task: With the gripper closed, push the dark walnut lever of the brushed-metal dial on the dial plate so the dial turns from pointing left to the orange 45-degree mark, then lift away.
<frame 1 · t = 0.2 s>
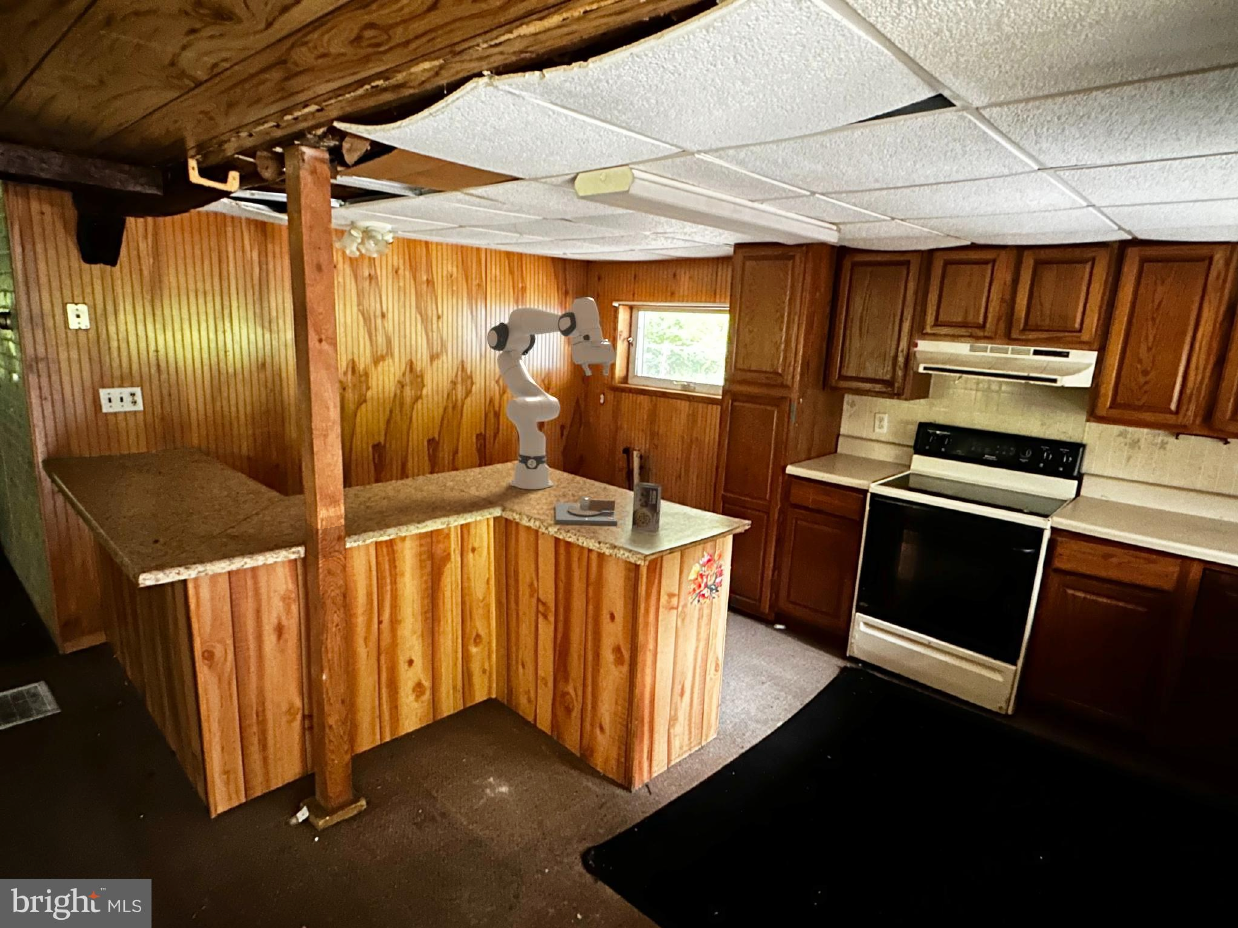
hand: (597, 375, 248), 52 cm above the worktop, tool tilted 20°, fingers open, 8 cm apart
dial plate: (584, 515, 246), on the worktop
coffee box: (645, 528, 235), on the worktop
dial: (591, 504, 246), point 4 cm above the worktop, hinge at 90.0°
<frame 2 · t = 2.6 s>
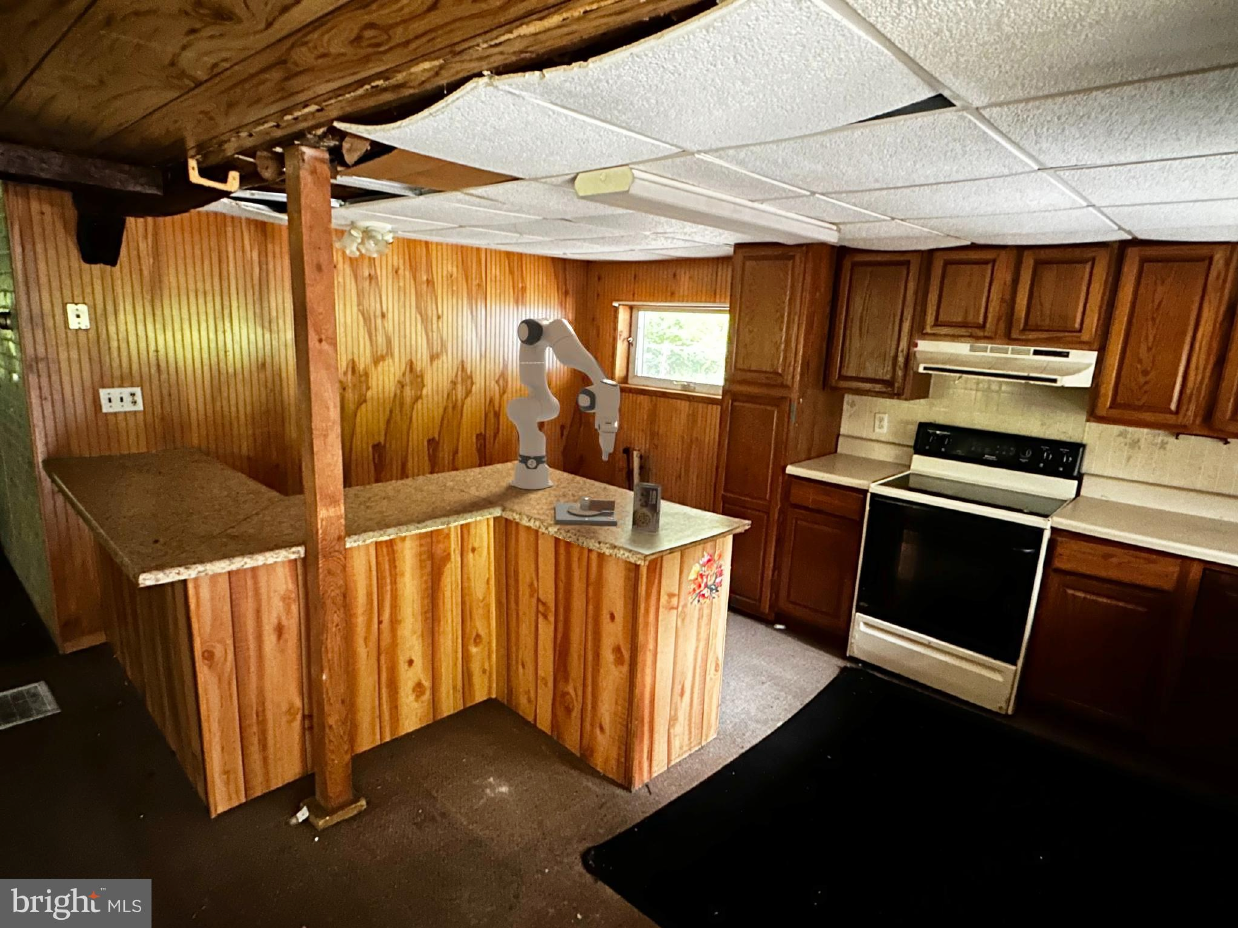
hand: (605, 459, 249), 20 cm above the worktop, tool pointing down, fingers closed
nothing on the worktop moved.
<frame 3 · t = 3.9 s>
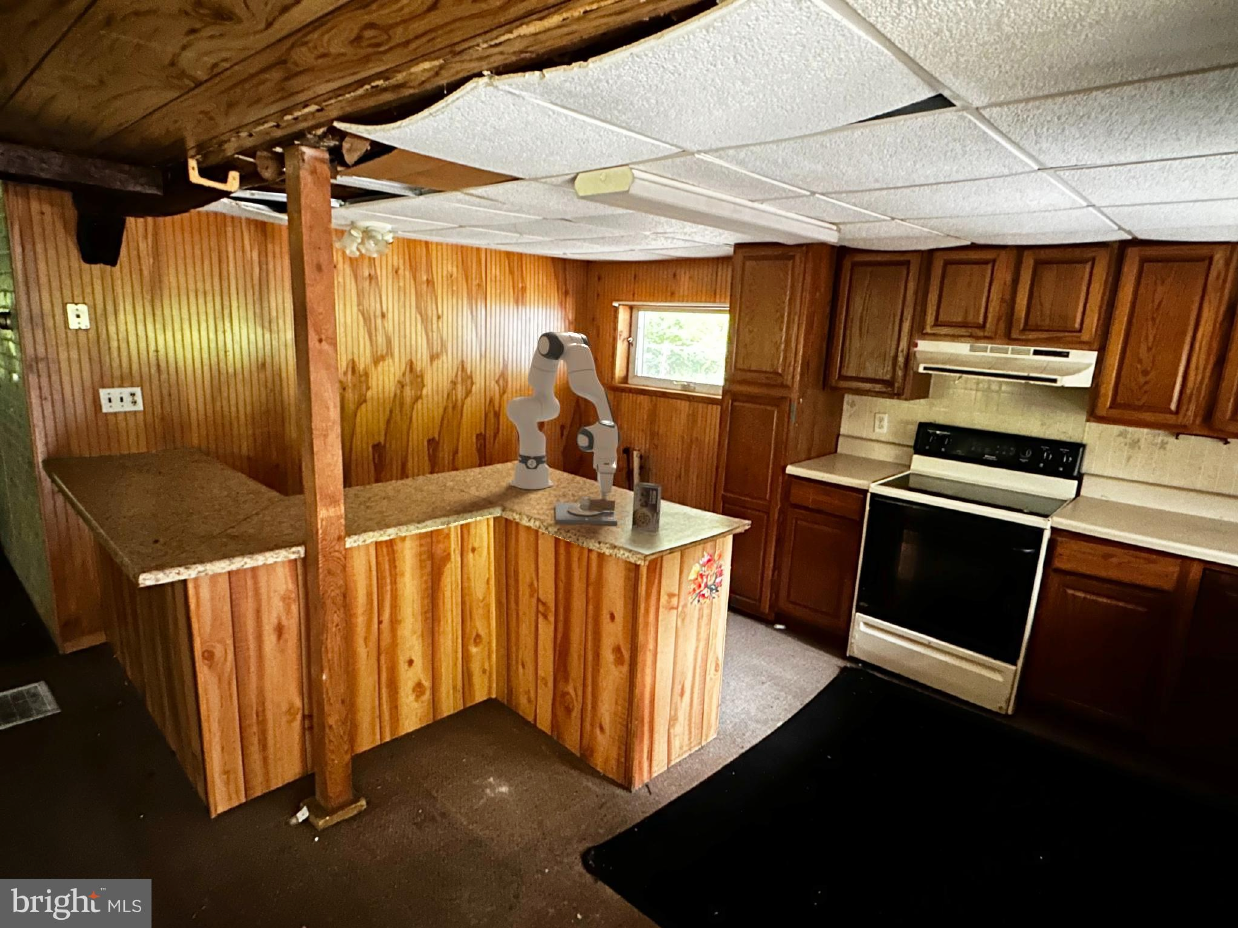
hand: (603, 498, 252), 5 cm above the worktop, tool pointing down, fingers closed
nothing on the worktop moved.
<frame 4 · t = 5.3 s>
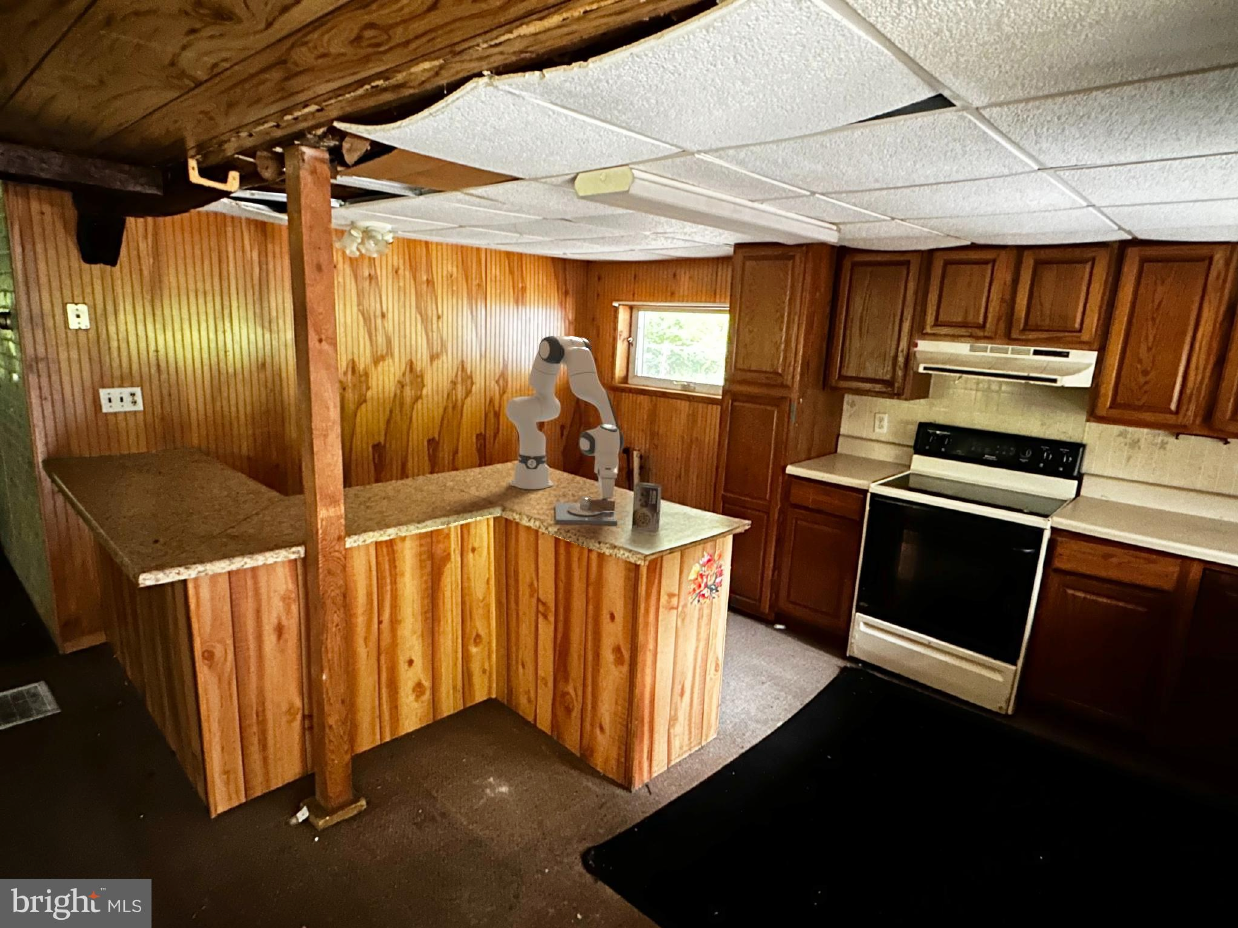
hand: (604, 503, 248), 4 cm above the worktop, tool pointing down, fingers closed, pressing on dial
dial: (591, 504, 246), point 4 cm above the worktop, hinge at 87.4°, touching gripper
everything else where it was.
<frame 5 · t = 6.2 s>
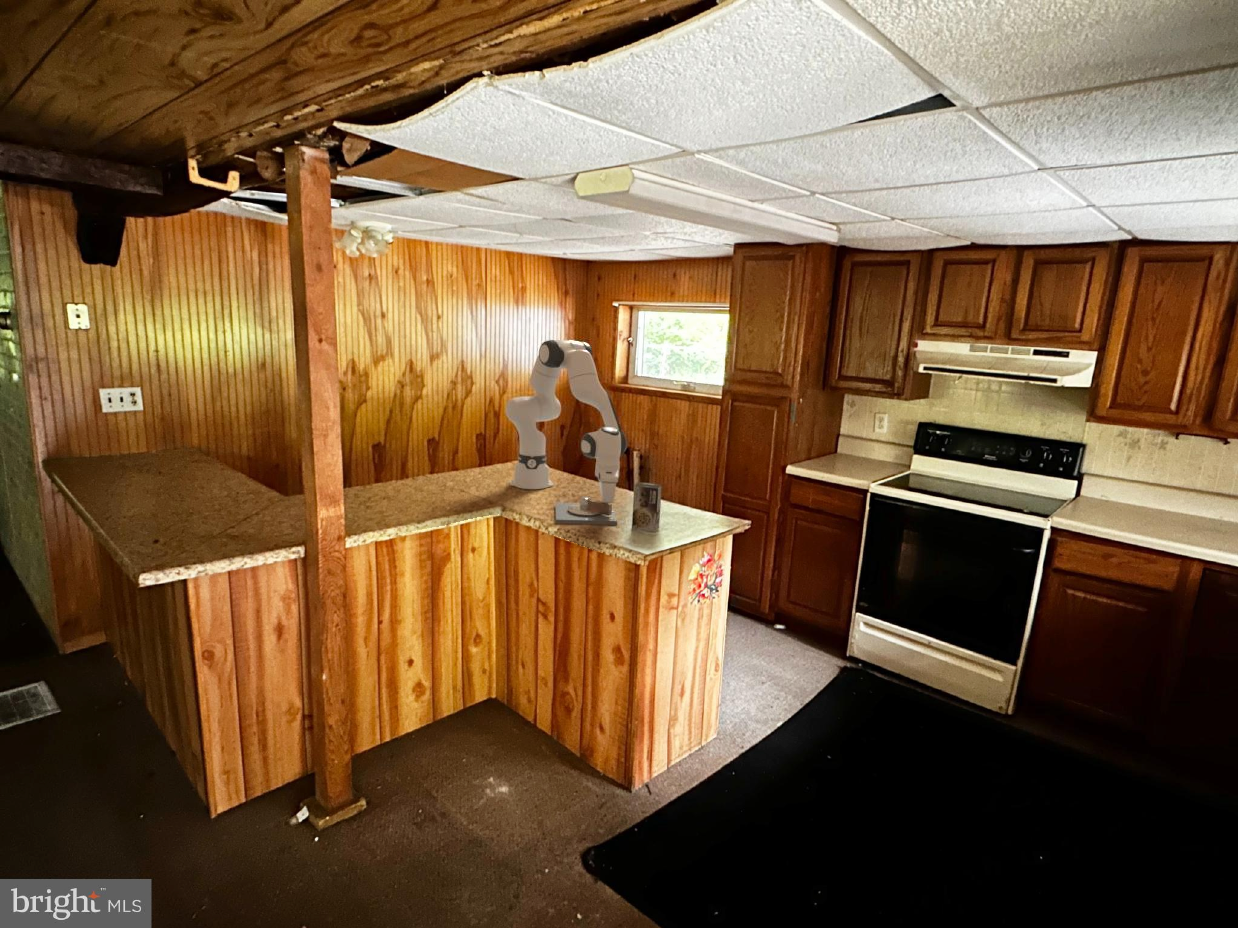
hand: (604, 507, 244), 4 cm above the worktop, tool pointing down, fingers closed, pressing on dial
dial: (590, 505, 244), point 4 cm above the worktop, hinge at 53.1°, touching gripper
everything else where it was.
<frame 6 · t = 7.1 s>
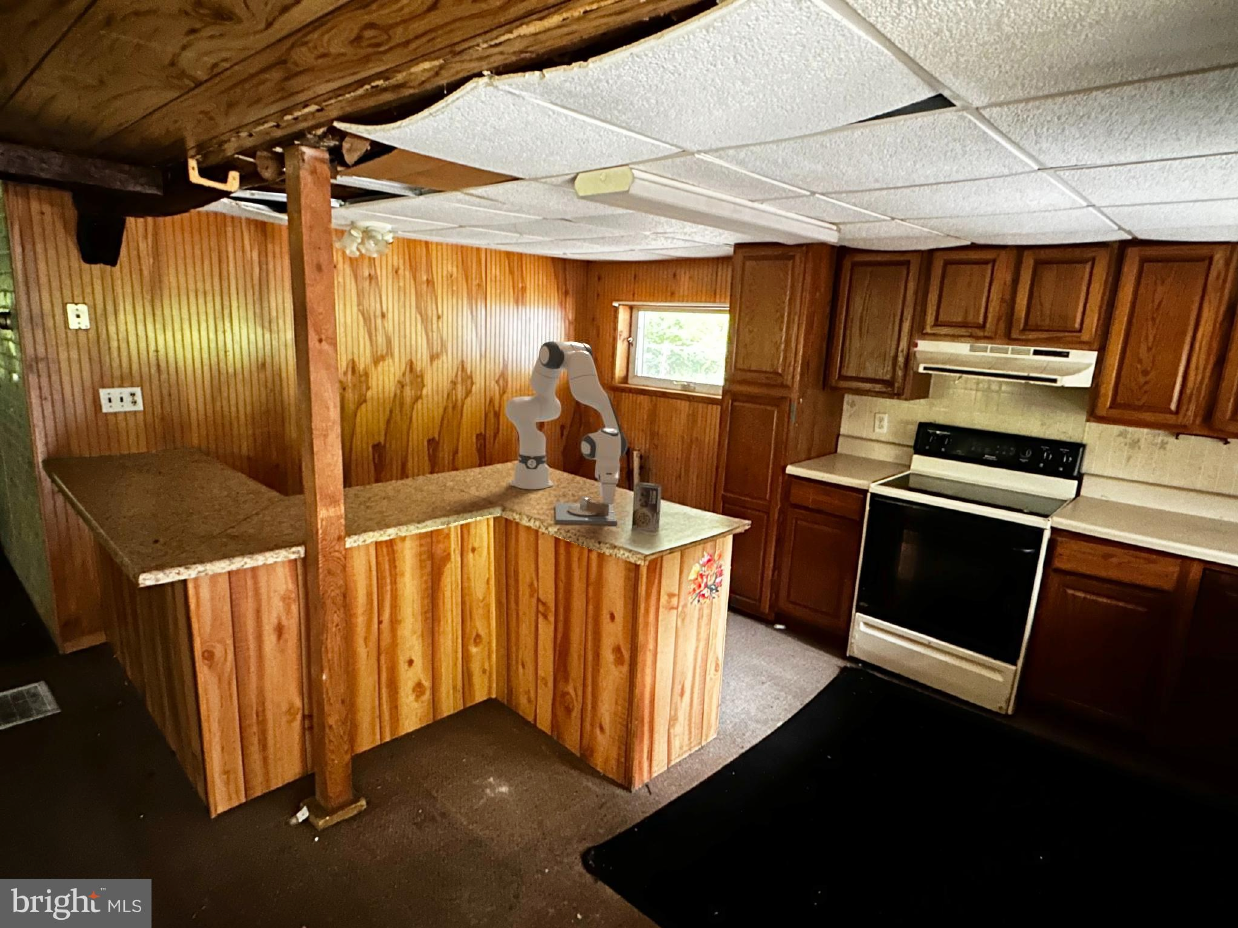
hand: (605, 508, 243), 4 cm above the worktop, tool pointing down, fingers closed
dial: (589, 505, 244), point 4 cm above the worktop, hinge at 42.2°, touching gripper
everything else where it was.
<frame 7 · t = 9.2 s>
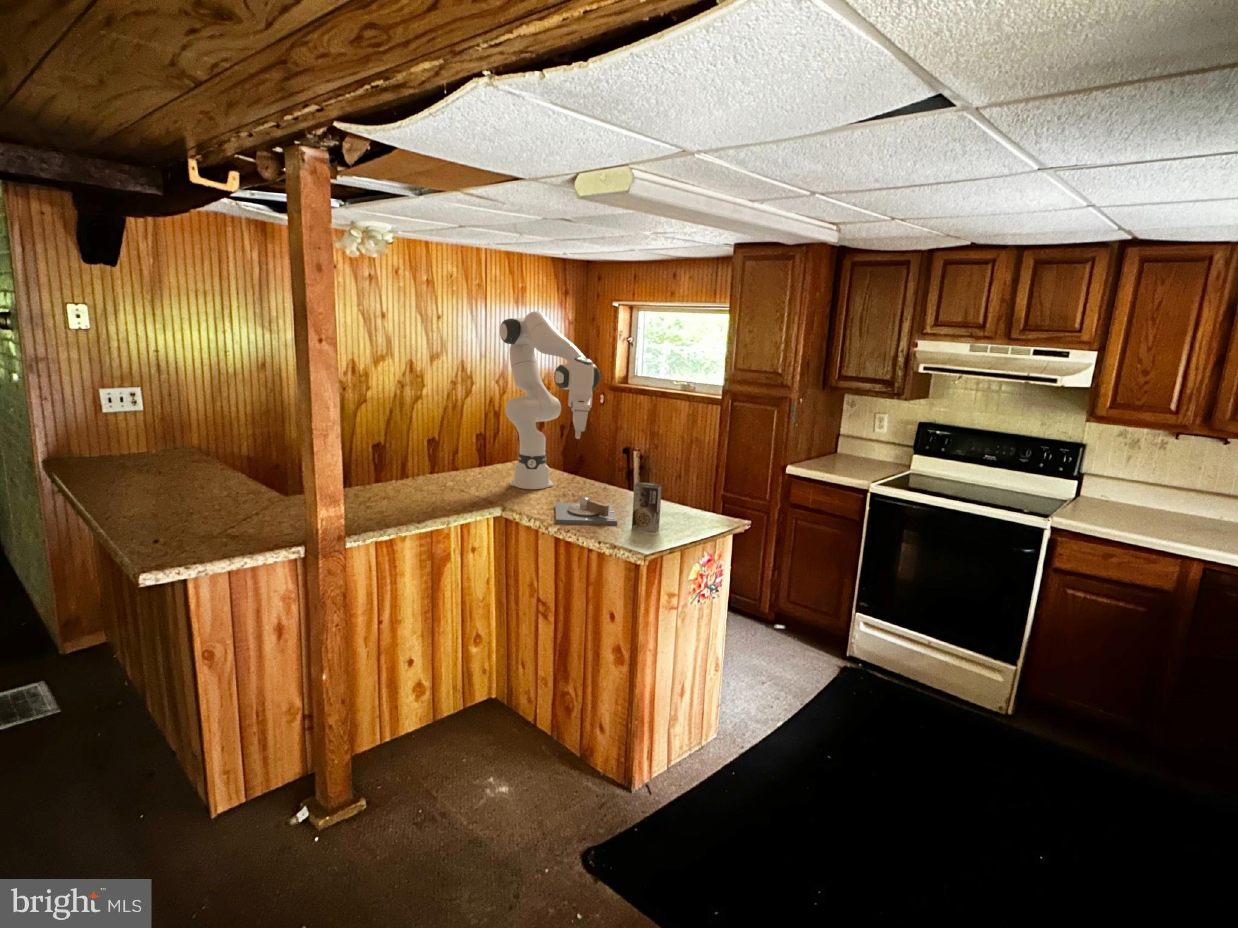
hand: (577, 438, 248), 28 cm above the worktop, tool pointing down, fingers closed
dial: (589, 505, 244), point 4 cm above the worktop, hinge at 41.3°
everything else where it was.
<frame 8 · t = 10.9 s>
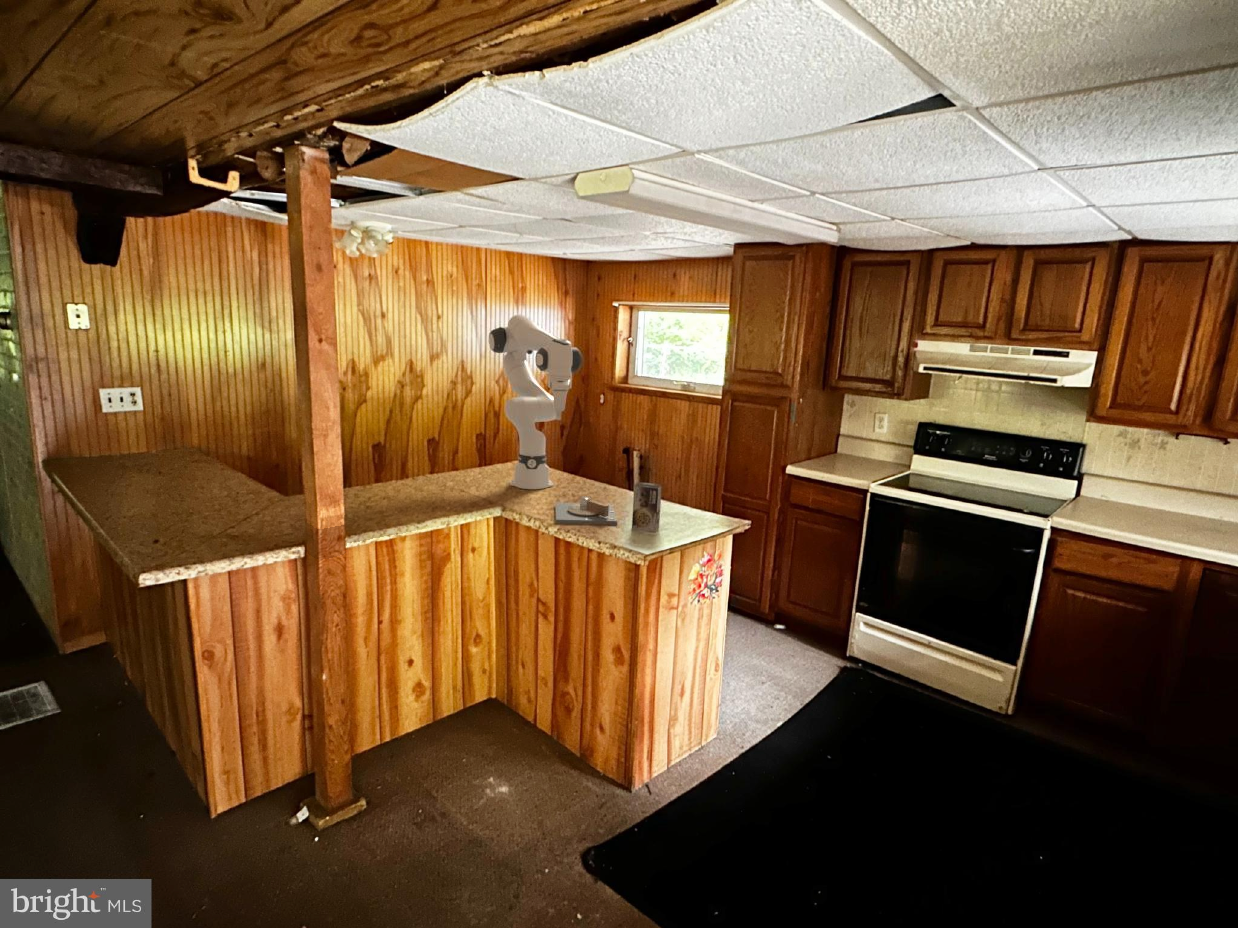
hand: (558, 419, 249), 34 cm above the worktop, tool pointing down, fingers closed
nothing on the worktop moved.
at the end: dial at +41° (first picture: +90°) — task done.
